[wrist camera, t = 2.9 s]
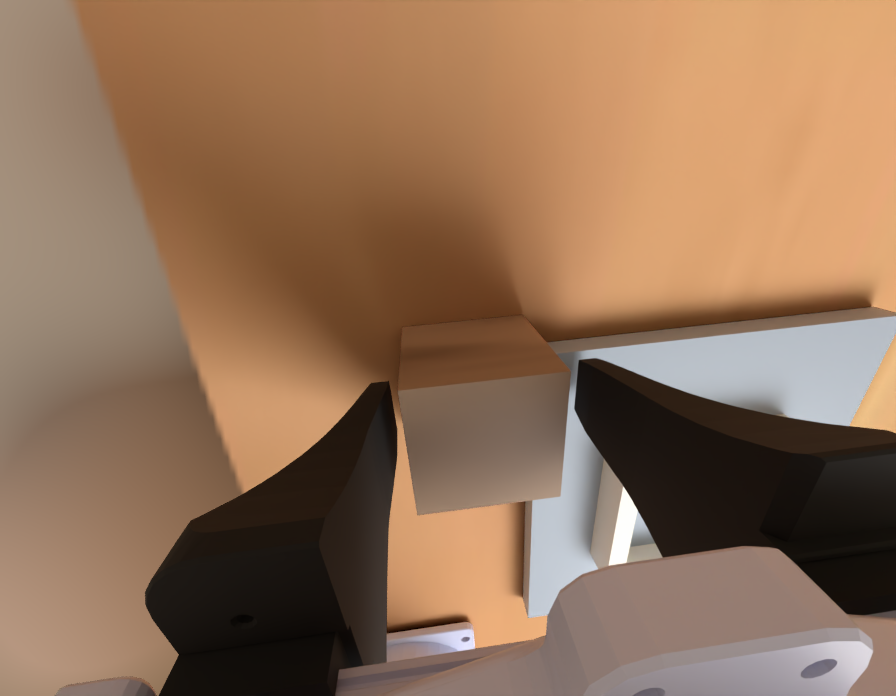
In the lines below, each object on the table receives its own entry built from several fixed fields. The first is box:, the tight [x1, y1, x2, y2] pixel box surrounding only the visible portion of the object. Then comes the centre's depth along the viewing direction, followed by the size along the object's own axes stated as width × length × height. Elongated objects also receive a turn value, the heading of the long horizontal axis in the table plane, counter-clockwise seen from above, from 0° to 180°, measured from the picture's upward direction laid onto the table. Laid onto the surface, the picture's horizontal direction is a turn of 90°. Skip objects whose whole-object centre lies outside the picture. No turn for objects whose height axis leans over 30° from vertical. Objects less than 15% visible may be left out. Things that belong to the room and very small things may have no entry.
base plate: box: [523, 307, 896, 618], centre depth 16 cm, size 16×14×2 cm
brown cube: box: [398, 315, 571, 515], centre depth 12 cm, size 4×4×4 cm
